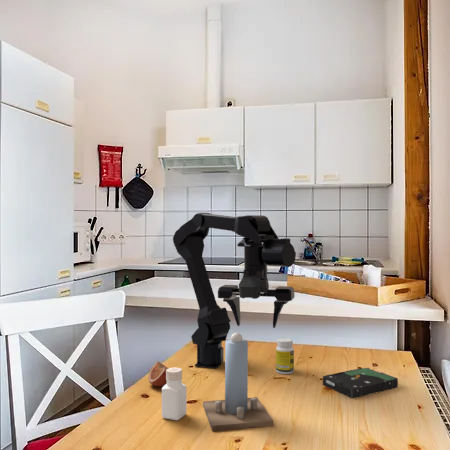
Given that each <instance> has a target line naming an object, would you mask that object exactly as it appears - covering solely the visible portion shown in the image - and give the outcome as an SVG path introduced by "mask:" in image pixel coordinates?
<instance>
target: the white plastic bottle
mask: <svg viewBox="0 0 450 450" xmlns="http://www.w3.org/2000/svg"><path fill="white" fill-rule="evenodd" d="M168 368H169V369H167V370H166V380H167V384H166V385H165V386H162V387H161V417H162V418H163V419H167V420H172V421H180V419H182V418H183V417H184V416H185V415H187V385H186V384H184V383H183V381H182V380H183V369H182V368H180V367H175V366H174V367H168Z"/></svg>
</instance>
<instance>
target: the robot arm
mask: <svg viewBox="0 0 450 450" xmlns="http://www.w3.org/2000/svg"><path fill="white" fill-rule="evenodd" d="M210 229H216V230H223V231H230V232H233V233H235V234H236V235H237V236H240V237H243V238H242V240H240V241H239V242H238V243H237V247H238V248H239V247H241V248H242V247H243V250H244V251H243V252H244V260H243V261H244V262H243V263H244V268H243V274H242V278H241V280H240V282H239V284H224V285H221V286H220V287H219V288H218V290H217V298H218V299H222V301H223V302H226V303H227V305H228V306H229V308H230V309H231V312H232V314H233V318H234V320H235V322H236V325H237V326H238V327H240V325H241V305H240V304H241V301H240V300H241V299H246V298H247V299H254V300H257V299H259V298H260V297H265V298H266V297H269V298H270V297H271V298H273V297H274V298H275V299H276V300H274V301H273V317H272V328H273V329H275V328H276V327H277V323H278V320H279V317H280V315H281V312H282V309H283V307H284V305H287V304H288V303H289V302H291V301H293V300H294V299H295V289H294V288H293V286H281V285H279V286H278V287H276V288H274V289H271V288H270V283H269V280H268V266H270V267H280V268H281V267H285V268H290V267H292V266H293V265H294V264H295V260H296V257H297V253H296V251H295V247H294V245H293V244H292V243H291V238H290V237H289V238H286V237H285V238H280V237H279V236H277V234H276V232H275V230H274V229H273V227H272V225H271V222H270V220H269V217H267V216H266V215H255V214H254V215H252V214H251V215H249V214H248V215H247V214H246V215H239V216H231V215H223V214H222V215H221V214H214V213H213V214H212V213H210V212H198V213H195V214H194V215H193V216H192V218H191V219H189V220H188V221H186V222H185V223H184V224H182V225H181V226H179V228H178V229H177V230H176V231H175V232H174V235H173V236H172V242H173V245H174V248H175V250H176V252H177V253H178V255H179V256H180V257H181V258H182V259H183V260H184V261H185V263H186V264H185V265H186V268H187V271H188V274H189V277H190V281H191V284H192V288H193V290H194V294H195V297H196V301H197V305H198V309H199V310H198V315H197V319H196V320H197V327H198V328H196V330H195V331H194V332H193V333H192V335H191V337H190V338H191V341H192V344H193V345H196V363H195V364H194V367H199V368H209V369H218V368H219V367H220V366H222V364H223V363H225V362H224V361H225V355H224V354H225V351H224V350H225V347H223V346H222V345H223V344H222V343H223V342H225V341H226V340H227V337H228V334H229V332H230V330H231V322H232V321H231V319H230V317H229V315H228V310H227V308H226V307H221V306H220V305H219V304H218V302H217V300H216V297H215V294H214V291H213V288H212V284H211V282H210V281H211V280H210V278H209V274H208V271H207V267H206V264H205V260H204V259H203V258H204V257H203V254H204V249H205V244H204V243H205V242H204V240H205V239H206V238H207V236H208V235H209V231H210ZM269 288H270V289H269Z"/></svg>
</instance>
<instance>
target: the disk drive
mask: <svg viewBox="0 0 450 450" xmlns="http://www.w3.org/2000/svg"><path fill="white" fill-rule="evenodd" d="M322 386H324V387H326V388H328V389H331V390H333V391H335V392H336V393H339V394H341V395H344V396H346V397H348V398H350V399H357V397H358V398H361V397H364V396H365V397H366V396H370V395H372V394H377V393H381V392H384V391H388V390H394V389H396V388H398V387H399V379H398V378H397V377H394V376H392V375H390V374H386V373H384V372H383V371H382V372H379V371H376V370H374V369H371V368H370V367H359V368H356V369H351V370H345V371H341V372H336V373H332V374H331V373H330V374H326V375H323V376H322ZM376 392H377V393H376Z"/></svg>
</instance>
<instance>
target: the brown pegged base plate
mask: <svg viewBox="0 0 450 450" xmlns="http://www.w3.org/2000/svg"><path fill="white" fill-rule="evenodd" d="M202 408H203V409H204V413H205V415H206V418H207V420H208V424H209V426H210V429H211V431H212V432H217V431H219V432H220V431H228V430H229V431H230V430H241V429H249V428H252V429H253V428H260V427H270V426H271V427H272V426H273V427H274V419H273V418H272V416H271V415H270V414H269V412H268V411H267V409H266V408H265V406H264V405H263V403H262V402H261V401H260V399H259V397H257V396H254V397H248V402H247V412H246V413H244V407H241V406H240V407H237V415H233V414H229V413H227V412H226V411H225V399H218V400H217V399H216V400H204V401H202Z"/></svg>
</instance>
